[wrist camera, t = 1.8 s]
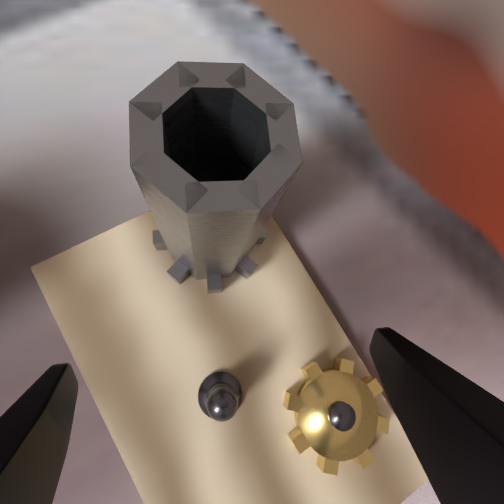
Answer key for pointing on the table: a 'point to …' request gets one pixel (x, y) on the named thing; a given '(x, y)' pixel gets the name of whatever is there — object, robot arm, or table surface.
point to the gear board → (207, 362)
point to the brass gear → (336, 415)
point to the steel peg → (220, 396)
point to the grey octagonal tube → (212, 164)
